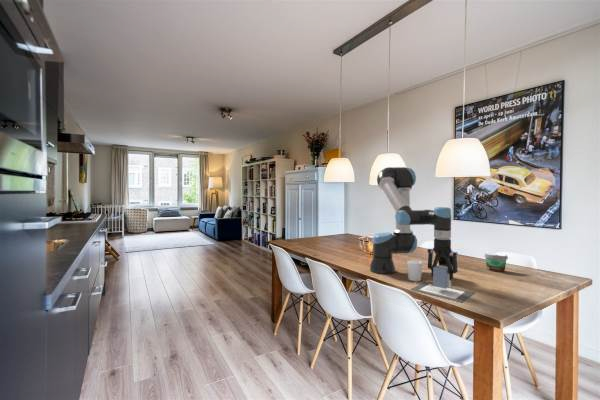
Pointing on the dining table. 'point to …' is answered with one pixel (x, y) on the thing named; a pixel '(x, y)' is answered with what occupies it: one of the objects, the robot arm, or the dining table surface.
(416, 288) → the desk mat
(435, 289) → the letter
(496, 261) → the food container
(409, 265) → the white cup
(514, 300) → the dining table surface
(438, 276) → the block
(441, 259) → the coffee cup
